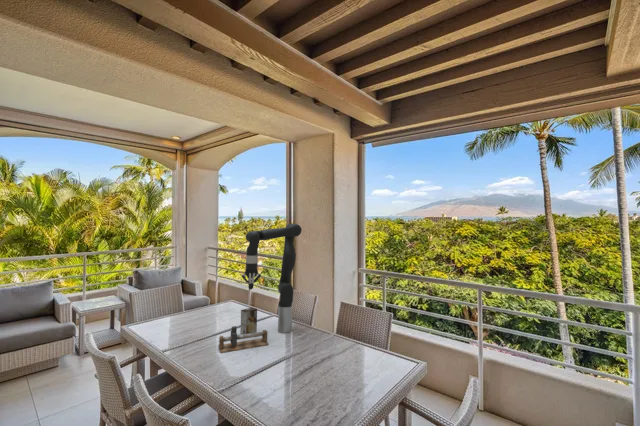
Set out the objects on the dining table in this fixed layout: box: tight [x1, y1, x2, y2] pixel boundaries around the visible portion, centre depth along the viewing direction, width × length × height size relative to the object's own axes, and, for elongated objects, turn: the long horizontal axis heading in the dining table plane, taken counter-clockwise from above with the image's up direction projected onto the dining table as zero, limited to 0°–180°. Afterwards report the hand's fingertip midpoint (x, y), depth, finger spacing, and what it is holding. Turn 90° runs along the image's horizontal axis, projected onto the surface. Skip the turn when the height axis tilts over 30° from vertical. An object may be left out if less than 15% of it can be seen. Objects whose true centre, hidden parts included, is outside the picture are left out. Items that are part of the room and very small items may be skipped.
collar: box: [229, 325, 238, 347], centre depth 169 cm, size 2×7×10 cm, turn 26°
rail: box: [217, 329, 269, 354], centre depth 172 cm, size 28×10×7 cm, turn 116°
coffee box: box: [239, 306, 258, 335], centre depth 192 cm, size 9×6×16 cm
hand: (250, 289), depth 183 cm, fingers closed
